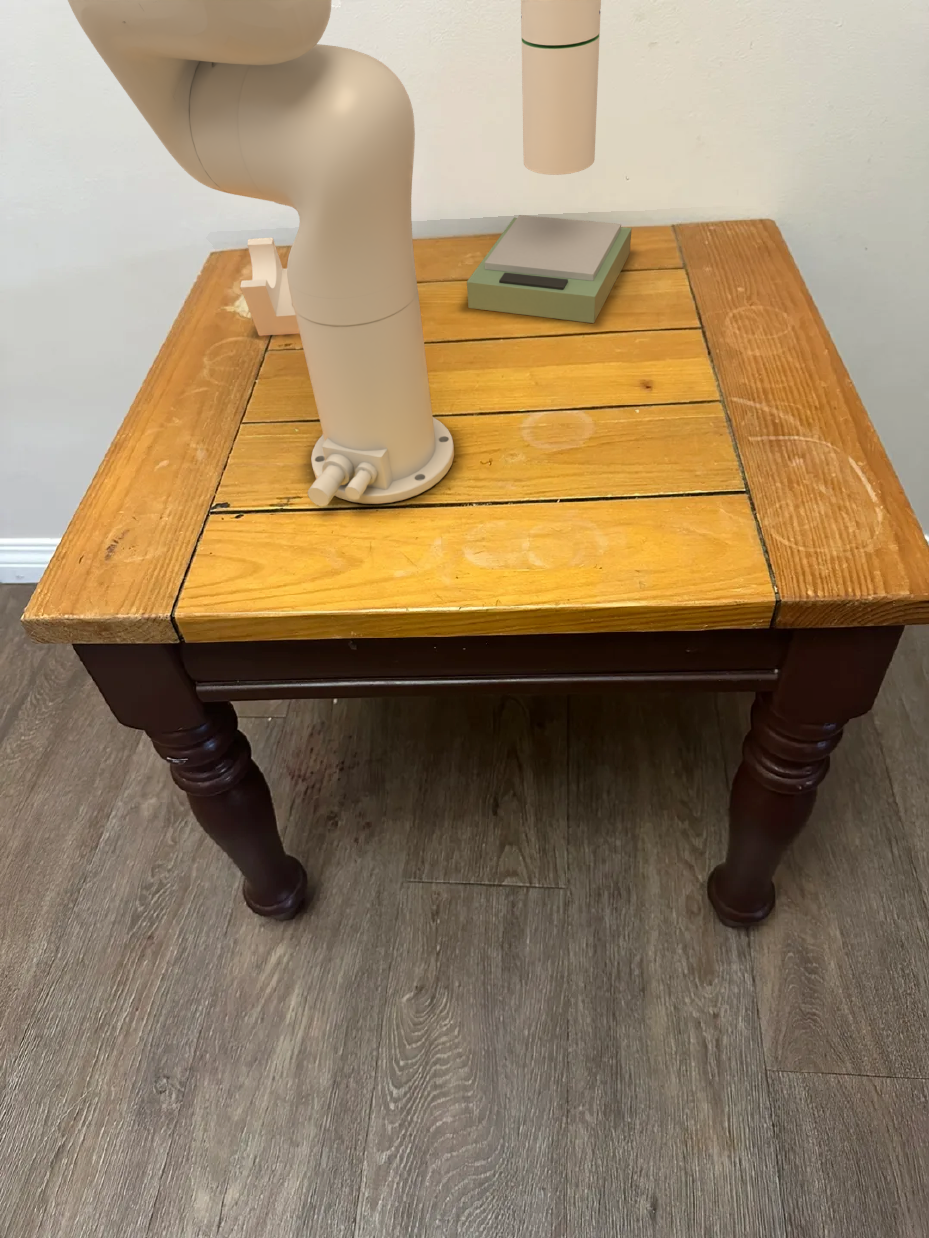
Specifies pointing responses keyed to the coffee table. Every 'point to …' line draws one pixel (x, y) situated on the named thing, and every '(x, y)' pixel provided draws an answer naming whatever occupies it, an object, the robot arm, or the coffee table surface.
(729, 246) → the coffee table surface
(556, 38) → the cylindrical container
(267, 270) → the bracket
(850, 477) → the coffee table surface
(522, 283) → the kitchen scale
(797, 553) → the coffee table surface
